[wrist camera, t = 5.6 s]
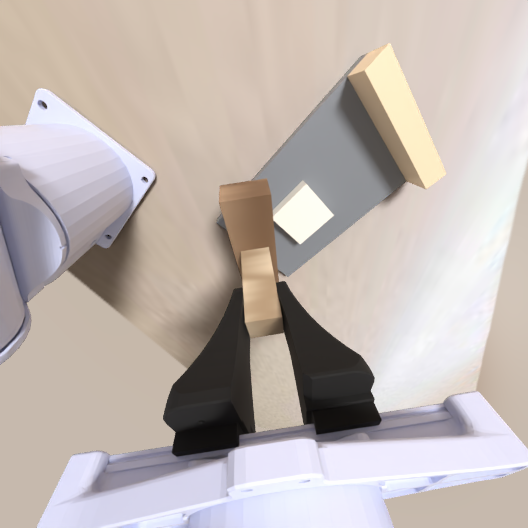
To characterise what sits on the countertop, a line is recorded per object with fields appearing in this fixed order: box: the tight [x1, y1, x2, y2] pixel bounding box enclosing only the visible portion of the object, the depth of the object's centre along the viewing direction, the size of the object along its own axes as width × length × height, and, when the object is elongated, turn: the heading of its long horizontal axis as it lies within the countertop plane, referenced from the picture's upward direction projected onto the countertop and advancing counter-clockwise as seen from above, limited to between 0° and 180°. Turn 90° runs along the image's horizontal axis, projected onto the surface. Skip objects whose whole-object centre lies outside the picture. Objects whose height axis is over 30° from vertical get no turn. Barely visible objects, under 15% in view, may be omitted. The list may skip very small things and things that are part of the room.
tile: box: [273, 180, 334, 244], centre depth 19 cm, size 4×4×1 cm
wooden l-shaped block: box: [219, 178, 284, 338], centre depth 14 cm, size 3×10×8 cm, turn 8°
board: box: [217, 43, 446, 277], centre depth 18 cm, size 16×10×4 cm, turn 136°
